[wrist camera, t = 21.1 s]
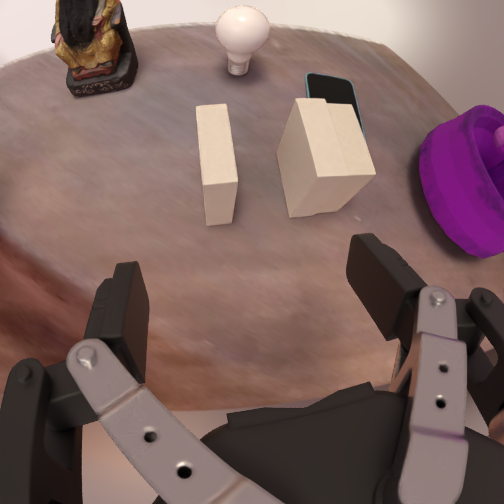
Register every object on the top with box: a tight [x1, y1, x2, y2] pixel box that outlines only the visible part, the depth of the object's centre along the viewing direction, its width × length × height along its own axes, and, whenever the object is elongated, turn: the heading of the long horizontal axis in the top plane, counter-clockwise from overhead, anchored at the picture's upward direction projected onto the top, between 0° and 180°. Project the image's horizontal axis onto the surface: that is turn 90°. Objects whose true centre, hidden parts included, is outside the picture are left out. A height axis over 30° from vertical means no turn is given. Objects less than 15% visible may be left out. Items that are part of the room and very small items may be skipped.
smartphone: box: [305, 73, 367, 145], centre depth 37 cm, size 7×1×15 cm
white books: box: [276, 98, 376, 218], centre depth 29 cm, size 6×8×10 cm
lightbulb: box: [215, 6, 270, 75], centre depth 31 cm, size 6×6×11 cm
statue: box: [51, 0, 138, 96], centre depth 25 cm, size 12×8×20 cm, turn 88°
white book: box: [196, 104, 238, 226], centre depth 28 cm, size 3×8×10 cm, turn 9°
